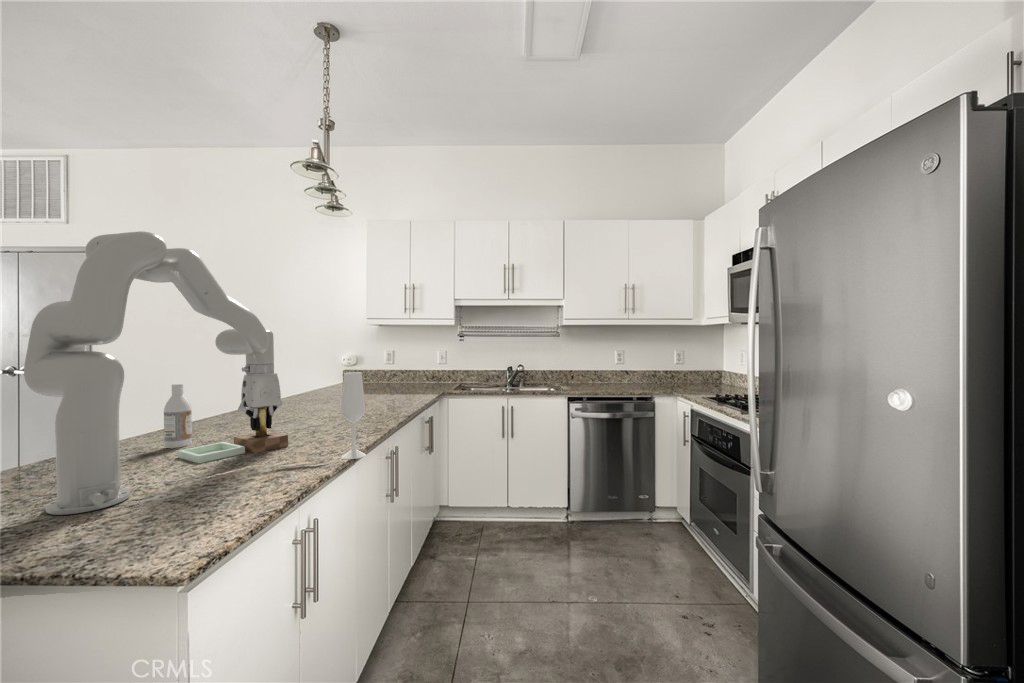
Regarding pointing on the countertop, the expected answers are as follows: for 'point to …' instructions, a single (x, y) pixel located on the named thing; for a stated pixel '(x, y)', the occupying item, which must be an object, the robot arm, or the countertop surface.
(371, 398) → the countertop surface
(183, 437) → the bath foam
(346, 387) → the champagne flute
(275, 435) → the bore block
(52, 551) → the countertop surface
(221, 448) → the tray
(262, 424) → the gold cylinder
